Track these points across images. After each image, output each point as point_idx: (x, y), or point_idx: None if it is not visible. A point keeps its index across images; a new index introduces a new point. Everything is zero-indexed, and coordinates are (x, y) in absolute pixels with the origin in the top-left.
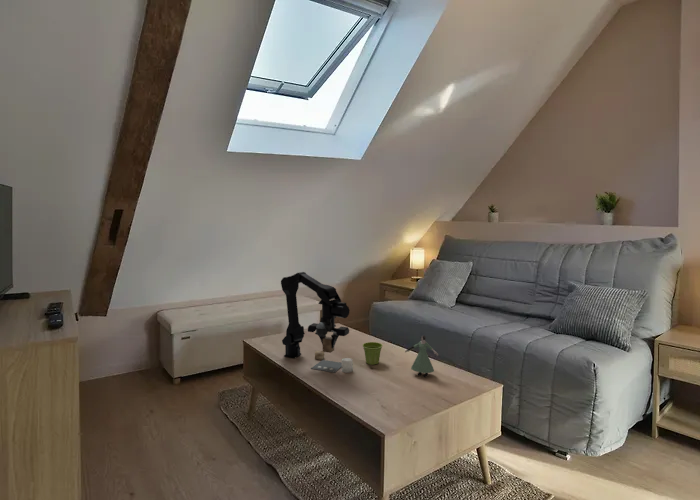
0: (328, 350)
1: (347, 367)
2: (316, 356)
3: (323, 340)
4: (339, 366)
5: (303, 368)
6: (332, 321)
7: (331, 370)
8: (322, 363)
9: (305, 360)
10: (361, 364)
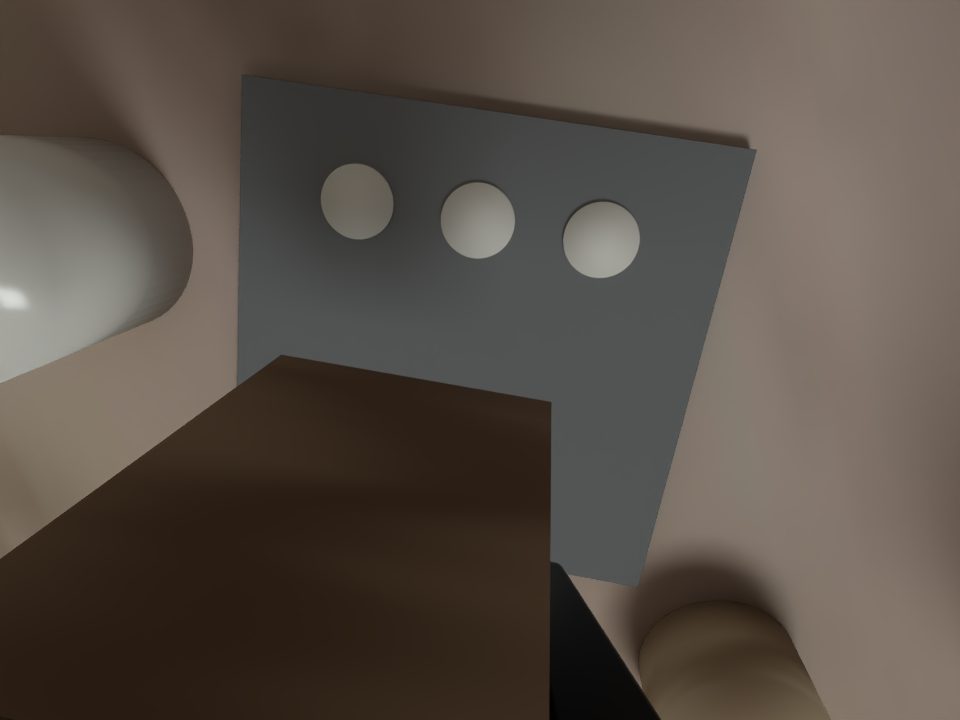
0: (328, 391)
1: None
2: (771, 646)
3: (480, 710)
4: (269, 356)
5: (919, 136)
6: None
7: (328, 129)
8: (596, 429)
9: (947, 538)
10: (32, 529)
